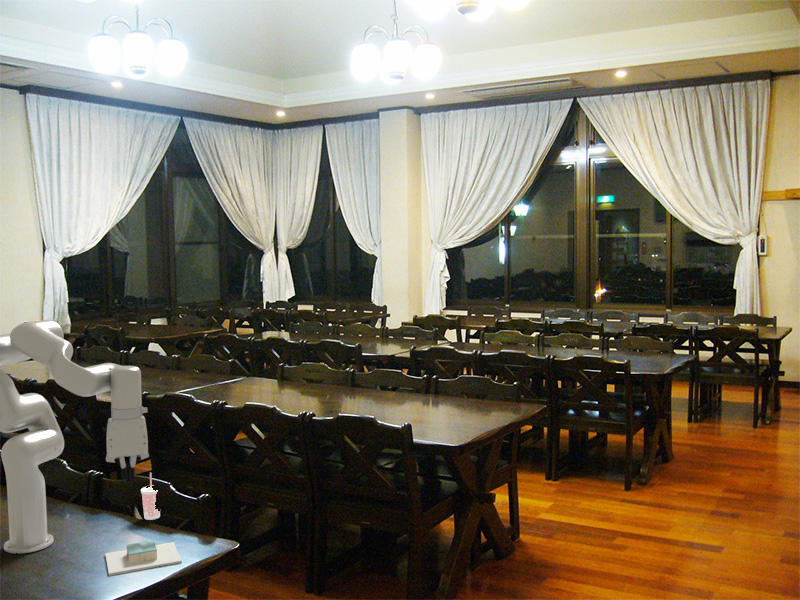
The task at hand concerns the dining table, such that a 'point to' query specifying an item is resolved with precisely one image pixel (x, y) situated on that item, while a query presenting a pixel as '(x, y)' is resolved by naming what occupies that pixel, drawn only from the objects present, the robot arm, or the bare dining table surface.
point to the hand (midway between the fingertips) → (128, 481)
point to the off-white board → (165, 556)
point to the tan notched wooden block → (141, 552)
